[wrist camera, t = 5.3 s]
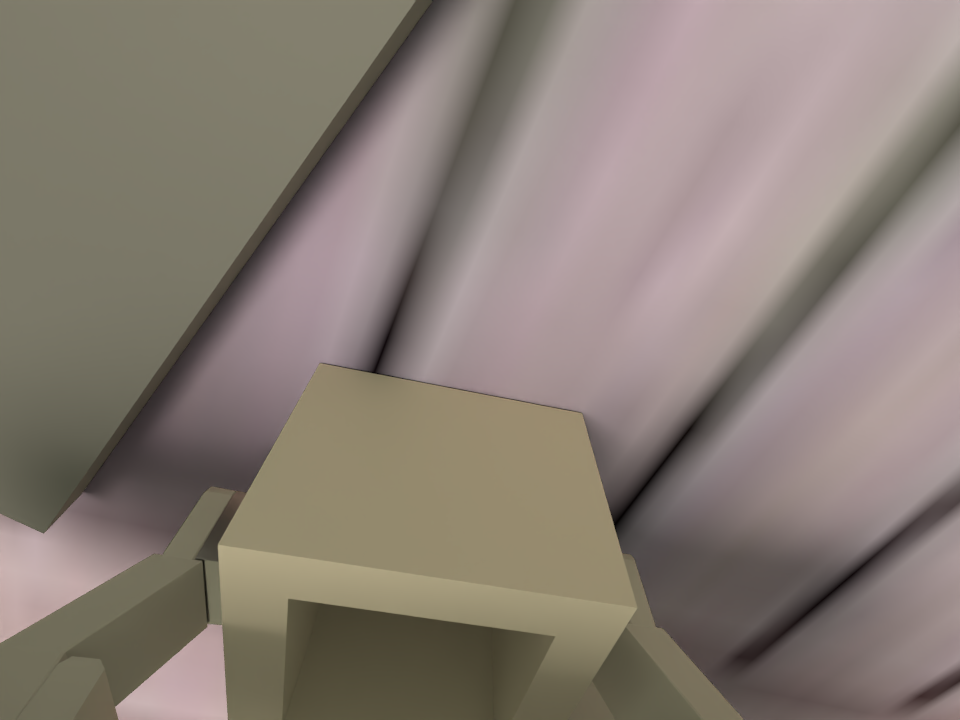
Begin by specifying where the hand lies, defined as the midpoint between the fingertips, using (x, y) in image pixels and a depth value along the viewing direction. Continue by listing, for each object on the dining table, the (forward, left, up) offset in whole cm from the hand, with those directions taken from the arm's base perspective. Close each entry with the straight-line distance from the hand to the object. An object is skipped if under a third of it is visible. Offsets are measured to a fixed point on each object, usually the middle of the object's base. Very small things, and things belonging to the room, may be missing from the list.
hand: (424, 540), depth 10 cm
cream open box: (0, 0, -2) cm, 2 cm away
